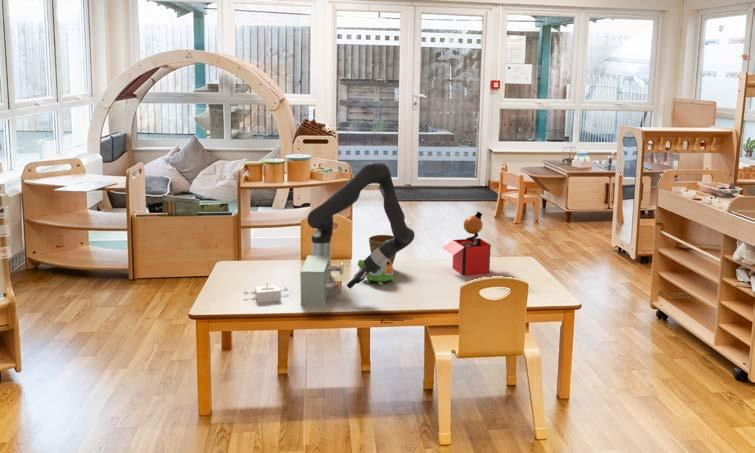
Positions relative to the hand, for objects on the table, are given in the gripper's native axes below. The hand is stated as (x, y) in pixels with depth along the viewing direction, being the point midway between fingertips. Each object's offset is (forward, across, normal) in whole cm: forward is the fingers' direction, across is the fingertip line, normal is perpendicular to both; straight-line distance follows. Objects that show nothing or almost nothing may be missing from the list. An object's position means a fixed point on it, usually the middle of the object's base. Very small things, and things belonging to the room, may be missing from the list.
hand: (348, 286), depth 334 cm
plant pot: (-5, -49, +15) cm, 51 cm away
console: (+15, -6, -6) cm, 17 cm away
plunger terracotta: (+9, 0, -5) cm, 10 cm away
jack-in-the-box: (-36, -50, +45) cm, 77 cm away
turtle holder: (-3, -29, +13) cm, 32 cm away
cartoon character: (+31, -4, -21) cm, 38 cm away
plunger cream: (+6, -12, -8) cm, 16 cm away
